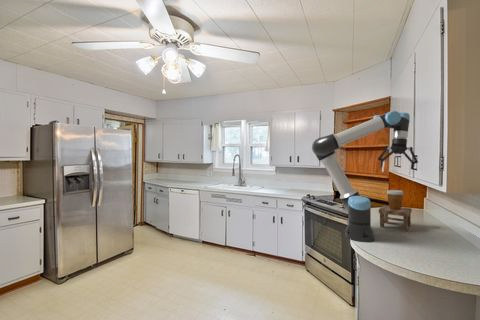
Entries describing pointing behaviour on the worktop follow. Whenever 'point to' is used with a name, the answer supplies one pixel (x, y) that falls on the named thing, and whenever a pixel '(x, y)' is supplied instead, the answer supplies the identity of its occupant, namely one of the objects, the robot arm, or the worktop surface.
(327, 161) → the robot arm
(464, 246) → the worktop surface
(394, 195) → the disposable coffee cup
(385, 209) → the walnut stool
